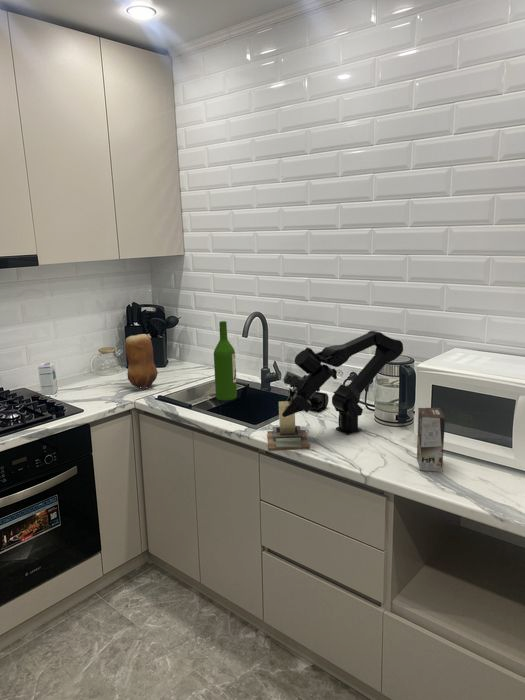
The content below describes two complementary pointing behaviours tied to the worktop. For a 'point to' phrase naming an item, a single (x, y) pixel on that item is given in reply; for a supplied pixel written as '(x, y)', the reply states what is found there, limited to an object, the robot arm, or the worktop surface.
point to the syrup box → (47, 379)
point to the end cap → (319, 402)
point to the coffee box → (430, 439)
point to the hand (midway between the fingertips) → (282, 413)
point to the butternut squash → (140, 360)
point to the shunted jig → (287, 440)
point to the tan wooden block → (286, 420)
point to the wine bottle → (225, 367)
